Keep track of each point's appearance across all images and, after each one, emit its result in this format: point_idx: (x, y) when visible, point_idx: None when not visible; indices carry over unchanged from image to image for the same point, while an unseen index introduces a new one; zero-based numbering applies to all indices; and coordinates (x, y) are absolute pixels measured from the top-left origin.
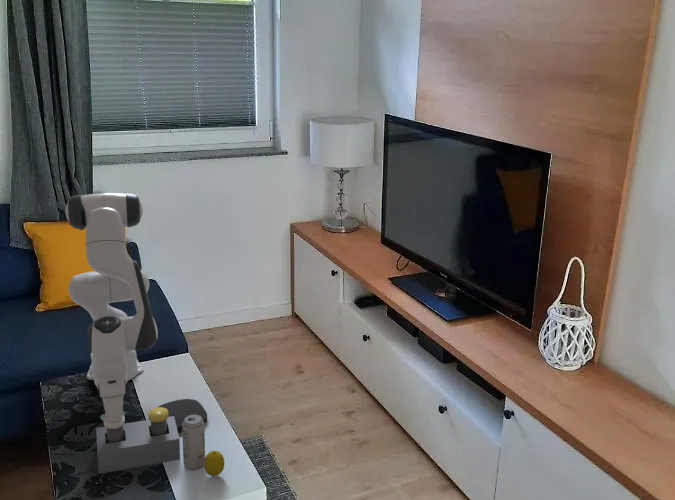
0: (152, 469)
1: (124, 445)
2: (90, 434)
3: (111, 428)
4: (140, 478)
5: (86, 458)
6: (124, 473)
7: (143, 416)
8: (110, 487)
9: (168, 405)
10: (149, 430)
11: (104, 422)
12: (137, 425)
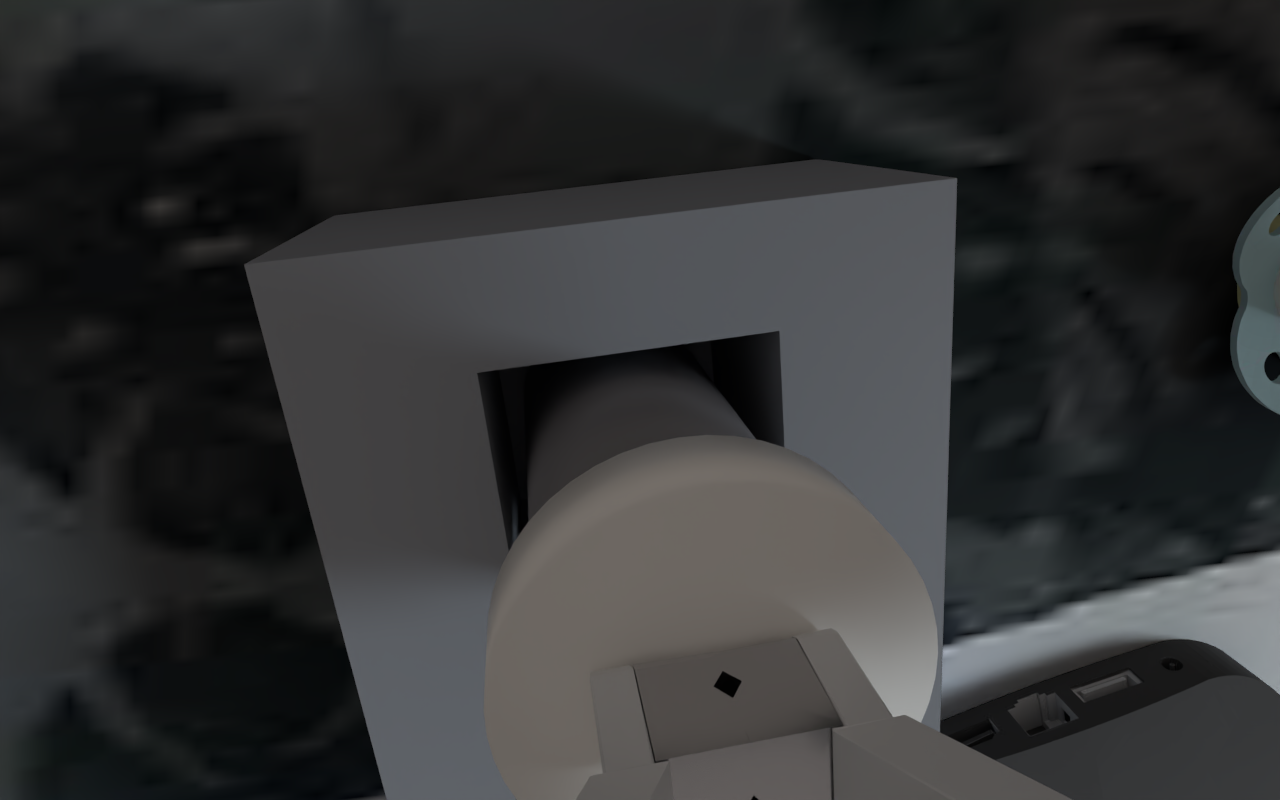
0: None
1: (401, 630)
2: (1111, 49)
3: (489, 610)
4: (226, 624)
5: (655, 40)
6: None
7: (1219, 552)
8: (74, 362)
9: (1256, 790)
10: None
11: (613, 514)
12: None
